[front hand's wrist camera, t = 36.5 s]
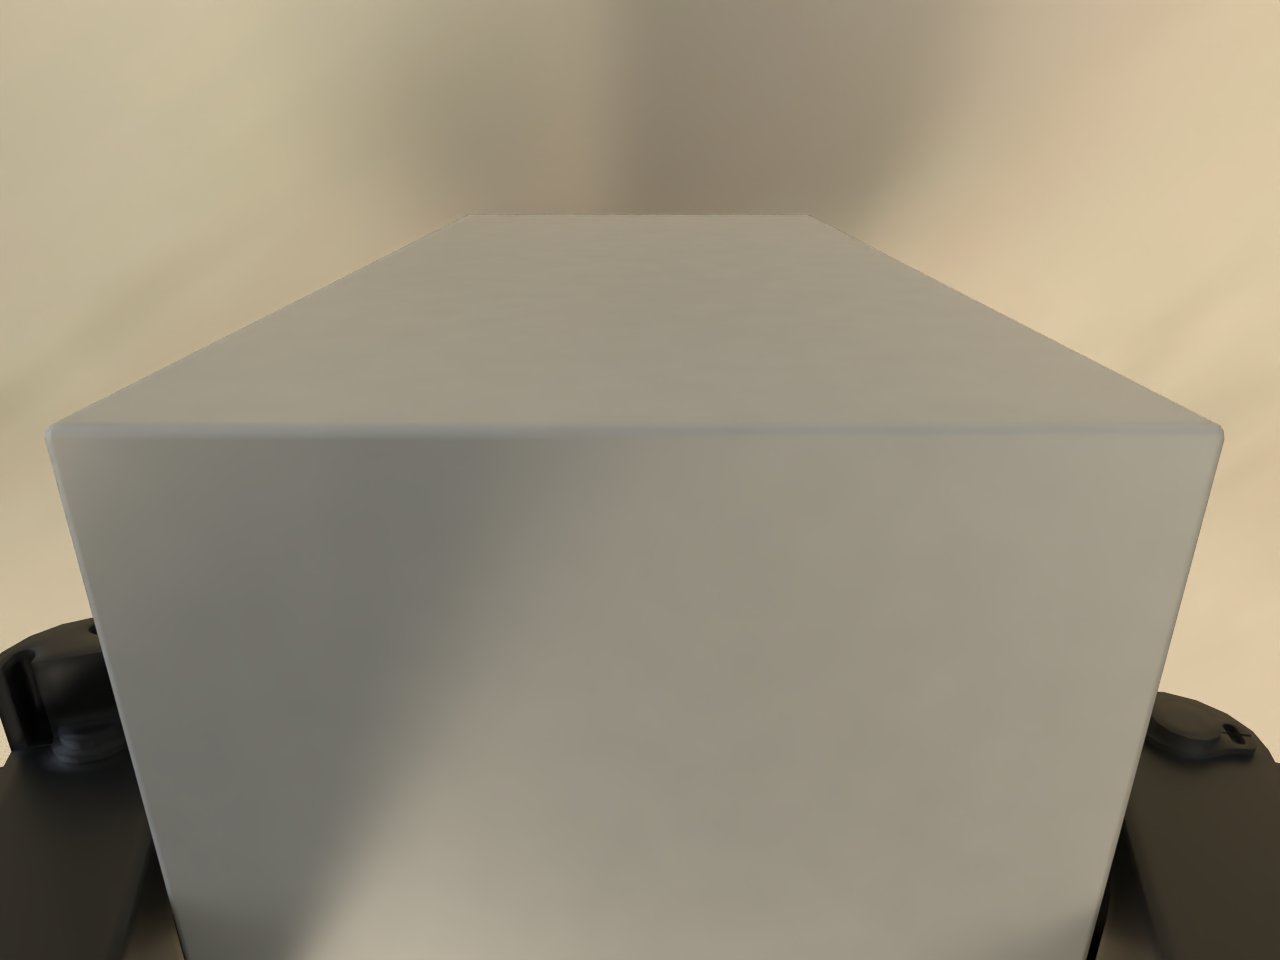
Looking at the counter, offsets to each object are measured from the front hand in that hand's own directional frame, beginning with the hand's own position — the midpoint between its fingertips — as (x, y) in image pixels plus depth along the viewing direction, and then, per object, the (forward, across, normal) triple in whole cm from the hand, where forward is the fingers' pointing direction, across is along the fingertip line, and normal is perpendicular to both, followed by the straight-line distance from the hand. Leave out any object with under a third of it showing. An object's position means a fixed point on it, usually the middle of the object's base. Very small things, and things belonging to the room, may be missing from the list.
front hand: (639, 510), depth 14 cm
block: (+3, 0, 0) cm, 3 cm away
